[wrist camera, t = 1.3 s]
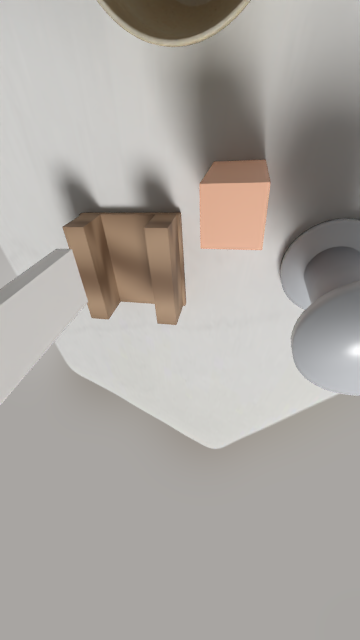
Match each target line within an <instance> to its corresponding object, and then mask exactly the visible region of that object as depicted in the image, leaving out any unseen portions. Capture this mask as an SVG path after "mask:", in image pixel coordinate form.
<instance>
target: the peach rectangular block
mask: <svg viewBox="0 0 360 640" xmlns="http://www.w3.org/2000/svg"><path fill="white" fill-rule="evenodd" d="M270 183H271V182H270V177H269V173H268V168H267V164H266V160H240V161H214V163H213V164H212V166H211V167H210V169H209V170H208V172H207V173H206V175H205V176H204V178H203V179H202V181H201V182H200V240H201V249H239V250H262V246H263V239H264V231H265V223H266V215H267V207H268V199H269V191H270Z"/></svg>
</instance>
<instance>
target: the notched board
mask: <svg viewBox="0 0 360 640" xmlns="http://www.w3.org/2000/svg"><path fill="white" fill-rule="evenodd" d="M79 215H80V216H79V217H77V218H75V219H74V220H72V221H71V222H69V223H68V224H66V225H65V226H63V230H64V233H65V236H66V239H67V243H68V246H69V249H72V251H73V254H74V258H75V261H76V264H77V267H78V271H79V274H80V277H81V280H82V284H83V287H84V290H85V293H86V296H87V300H88V303H87V305H88V308H89V311H90V314H91V317H92V318H98V319H109V318H110V317H111V315H112V314H113V312H114V311H115V309H116V308H117V306H118V305H119V303H120V302H121V301H122V302H137V303H151V304H155V309H156V316H157V323H159V324H171V325H176V324H177V322H178V319H179V316H180V313H181V310H182V307H183V306H185V305H186V291H185V274H184V257H183V240H182V223H181V212H173V213H81V214H79Z"/></svg>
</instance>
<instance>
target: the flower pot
mask: <svg viewBox="0 0 360 640" xmlns="http://www.w3.org/2000/svg"><path fill="white" fill-rule="evenodd" d="M250 1H251V0H97V2H98V3H99V4H100V5H101V7H102V8H103V9H104V10H105V11H106V13H107V14H108V15H109V16H110V17H111V18H112V19H113V20H114V21H115V22H116V23H117V24H119V25H120V26H121V27H122V28H123V29H125V30H126V31H127V32H129V33H130V34H132V35H134V36H136V37H137V38H139V39H141V40H143V41H146V42H148V43H152V44H156V45H160V46H167V47H180V46H187V45H191V44H195V43H198V42H201V41H203V40H205V39H207V38H210V37H212V36H213V35H215V34H216V33H218V32H219V31H221V30H222V29H224V28H225V27H226V26H227V25H229V24H230V23H231V22H232V21H233V20H234V19H235V18H236V17H237V16H238V15H239V14H240V13H241V12H242V11H243V10H244V8H245V7H246V6H247V5H248V3H249V2H250Z"/></svg>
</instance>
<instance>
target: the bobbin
mask: <svg viewBox="0 0 360 640" xmlns="http://www.w3.org/2000/svg"><path fill="white" fill-rule="evenodd" d="M280 276H281V283H282V287H283V290H284V292H285V294H286V295H287V297H288V298H289V299H290V300H291V301H292V302H293V303H294V304H295V305H297V306H298V307H300V308H302V309H305V311H304V312H303V313H302V314H301V316H300V317H299V318H298V320H297V322H296V324H295V326H294V328H293V331H292V336H291V347H292V354H293V359H294V362H295V365H296V367H297V369H298V370H299V371H300V373H301V374H302V375H303V376H304V377H305V378H306V379H307V380H309V381H310V382H311V383H313V384H315V385H316V386H319V387H321V388H323V389H326V390H329V391H332V392H336V393H340V394H347V395H360V220H357V219H335V220H330V221H327V222H323V223H321V224H318V225H316V226H314V227H312V228H310V229H308V230H307V231H305V232H304V233H302V234H301V235H300V236H299V237H298V238H297V239H296V240H295V241H294V242H293V243H292V244H291V245H290V247H289V248H288V249H287V251H286V253H285V255H284V257H283V260H282V263H281V269H280Z"/></svg>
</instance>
